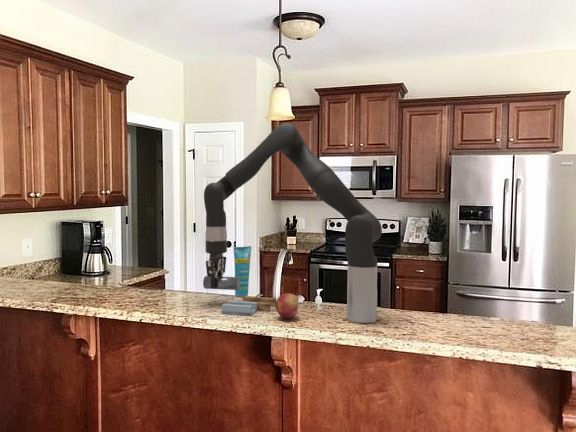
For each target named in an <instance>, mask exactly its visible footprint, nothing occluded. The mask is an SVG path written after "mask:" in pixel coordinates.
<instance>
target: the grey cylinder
mask: <svg viewBox="0 0 576 432" xmlns="http://www.w3.org/2000/svg"><path fill="white" fill-rule="evenodd" d="M239 285H240V281H239V278H238V277H235V276H222V277H219V276H217V288H216V289H215V290H222V291H223V290H227V291H230V290H231V291H235V290H238V289H239ZM202 286H203V289H205V290H212V289H211V285H210V277H208V276H207V275H205V276H204V278H203V282H202Z"/></svg>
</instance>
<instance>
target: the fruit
mask: <svg viewBox="0 0 576 432" xmlns="http://www.w3.org/2000/svg"><path fill="white" fill-rule="evenodd" d="M274 307H275V310H276V312H277V314H278V315H279V316H281V317H282V318H283V319H286V320H289V319H294V317H296V316H297V314H298V311H299V297H298V296H297V295H295V294H293V293H282V294H281V295H279V297H278V298H276V303H275V306H274Z"/></svg>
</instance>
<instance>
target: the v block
mask: <svg viewBox="0 0 576 432" xmlns="http://www.w3.org/2000/svg"><path fill="white" fill-rule="evenodd" d="M241 301H242V300H228V301H227V302H226V303H223V304H221V314H222V315H232V316H244V317H245V316H247V317H252V316H254V314H255V313H257V312H258V310H257V303H256V302H241Z"/></svg>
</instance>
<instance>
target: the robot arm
mask: <svg viewBox="0 0 576 432" xmlns="http://www.w3.org/2000/svg"><path fill="white" fill-rule="evenodd" d="M278 152H280V153H281V154H282V155H284V156H285V157H286V159H289V160H290V162H291V163H292V164H293V165H294V166H295V167H296V168H297V169H298V170H299V172H300V174H301V175H302V177H303V179H304V180H305V182H306V183H307V185H308V186H309V187H310V188H311V190H312V191H313V193H315V194H316V196H317V197H318V198H319V199H320V200H321V201H323V202H324V203H325V204H326V205H328V206H329V207H331V209H334V210H336V212H338V213H339V214H341V216H343V217H344V219H345V220H346V221H347V222H346V225H345V230H344V241H345V242H344V243H345V248H344V249H345V257H346V259H347V287H346V289H347V291H346V293H347V294H346V298H347V299H346V320H347V321H349V322H353V323H357V324H359V323H360V324H369V323H377V319H378V317H377V316H378V314H377V313H378V257H377V256H376V255H375V253H374V249H373V245H374V244H373V243H375V242H377V241H378V240H379V239H380V238H381V236H382V235H383V234H382V232H383V228H382V224H381V221H380V220H379V219H378V218H377V217H376V216H375V214H373V213H372V212H371V211H370V210H368V209H367V207H365V206H364V205H363V204H362V203H361V202H360V201H359V200H358V199H357V197H355V195H354V194H353V192H351V190H350V189H349V187H347V186H346V184H344V183H343V181H342V179H340V177H339V176H338V175H337V174H336V173H335V171H333V169H332V168H330V166H329V165H327V164H326V162H324V161H323V160H321V159H320V158H318V157H317V156H316V155H315V154H314V153H313V152H312V151H311V149H310V148H309V146H308V145H307V144H306V143H305V141H304V139H303V137H302V135H301V133H300V132H299V130H298V129H297V127H296V126H295V125H294V124H292V123H291V122H290V123H289V122H284V123H281V124H279V125H278V126H276V127H275V128H274V129H273V130H272V131H271V133H269V134H268V136H267V137H265V139H263V141H261V142H260V144H258V146H256V147H255V149H254V150H253V151H251V152H250V153H249V154H248V155H247V156H245V158H243V159H242V160H241V161H240V162H238V163H237V164H236V165H234V166H232V168H231V169H229V170H228V171H227V172H225V175H224V176H223V177H221V178H220V179H219V180H218V181H217V182H211V183H208V184H207V185H206V186H205V188H204V191H203V201H204V208H205V212H206V213H205V216H206V217H205V233H204V234H205V236H204V237H205V253H206V254H209V258H208V260H206V261H205V266H206V267H205V268H206V276H208V277H210V285H211V289H210V290H217V289H216V288H217V276H219V277H223V276H224V273H226V266H227V265H226V263H227V257H226V256H224V254H226V253H227V252H228V239H227V238H228V231H227V215H226V210H225V207H224V206H225V204H224V203H225V202H224V201H226V200H227V199H228V198H230V197H231V196H232V195H233V194H234V193H235V192H236V191H237V190H238V189H239V188H241V187H243V186H244V185H245V184H246V183H248V182H249V181H251V179H253V178H254V177H255V176H256V175H257V174H258V173H259V171H260V170H261V169H262V167H263V166H264V165H265V163H266V162H267V161H268V160H269V159H270V158H271V157H272V156H274V155H275V154H276V153H278Z"/></svg>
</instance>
